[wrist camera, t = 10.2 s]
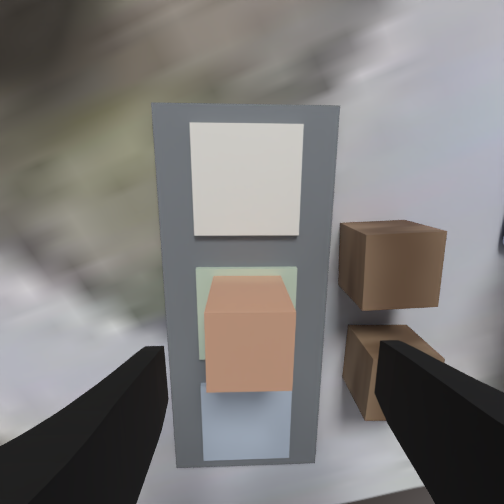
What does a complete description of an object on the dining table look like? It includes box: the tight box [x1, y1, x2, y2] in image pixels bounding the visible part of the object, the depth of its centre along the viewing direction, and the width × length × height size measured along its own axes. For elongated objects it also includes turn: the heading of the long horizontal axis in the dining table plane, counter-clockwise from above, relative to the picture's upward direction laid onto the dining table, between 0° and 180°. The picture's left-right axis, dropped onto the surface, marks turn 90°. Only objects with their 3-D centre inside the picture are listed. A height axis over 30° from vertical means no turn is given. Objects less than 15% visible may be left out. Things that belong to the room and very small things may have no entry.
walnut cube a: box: [338, 220, 447, 311], centre depth 17 cm, size 4×4×4 cm
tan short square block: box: [204, 276, 296, 393], centre depth 16 cm, size 4×4×5 cm
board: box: [151, 103, 340, 468], centre depth 19 cm, size 10×24×1 cm, turn 0°
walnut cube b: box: [342, 325, 445, 421], centre depth 19 cm, size 4×4×4 cm
